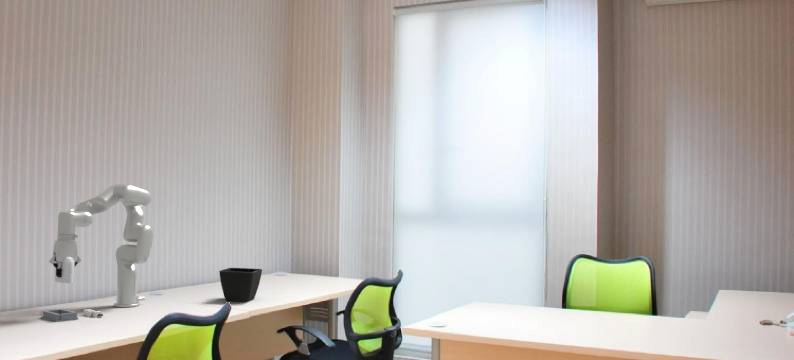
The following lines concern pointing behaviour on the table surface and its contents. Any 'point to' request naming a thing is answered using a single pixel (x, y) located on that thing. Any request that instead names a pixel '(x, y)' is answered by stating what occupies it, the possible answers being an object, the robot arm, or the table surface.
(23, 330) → the table surface
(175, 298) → the table surface
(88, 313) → the white cube chain
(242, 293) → the flower pot
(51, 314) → the end holder
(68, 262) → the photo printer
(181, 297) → the table surface
